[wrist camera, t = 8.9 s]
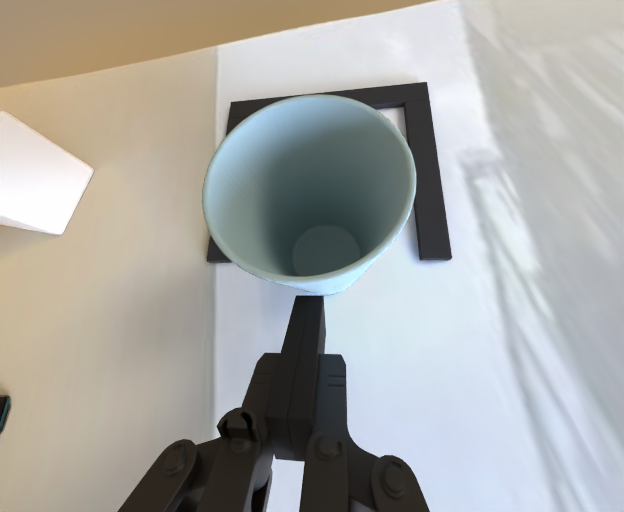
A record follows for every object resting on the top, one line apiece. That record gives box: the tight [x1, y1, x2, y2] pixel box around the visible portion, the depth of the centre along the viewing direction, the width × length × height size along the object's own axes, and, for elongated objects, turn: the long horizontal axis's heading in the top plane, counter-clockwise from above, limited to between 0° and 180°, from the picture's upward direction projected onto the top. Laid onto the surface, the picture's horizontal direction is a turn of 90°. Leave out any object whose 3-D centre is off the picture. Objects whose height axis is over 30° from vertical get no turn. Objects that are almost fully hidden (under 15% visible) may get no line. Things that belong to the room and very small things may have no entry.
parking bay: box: [207, 82, 452, 263], centre depth 21 cm, size 16×18×1 cm
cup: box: [202, 94, 416, 295], centre depth 14 cm, size 8×8×10 cm
